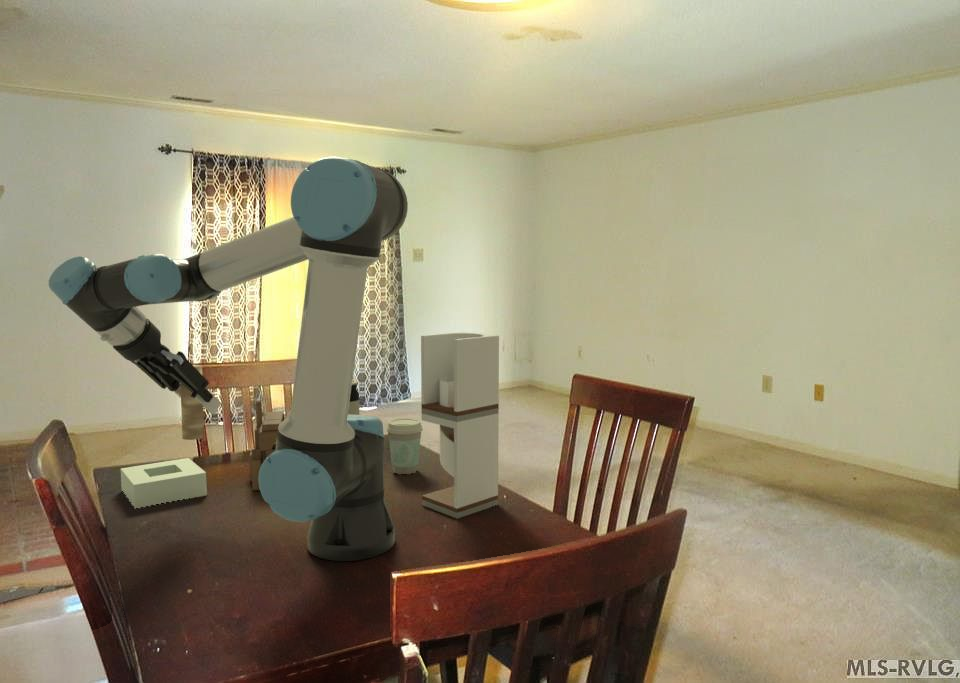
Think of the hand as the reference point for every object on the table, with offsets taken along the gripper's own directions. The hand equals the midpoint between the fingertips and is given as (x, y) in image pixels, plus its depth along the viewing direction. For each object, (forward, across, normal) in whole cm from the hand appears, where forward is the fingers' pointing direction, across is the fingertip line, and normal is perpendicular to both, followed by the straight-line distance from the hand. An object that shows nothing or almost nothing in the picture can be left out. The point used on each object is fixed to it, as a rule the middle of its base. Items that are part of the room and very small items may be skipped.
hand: (208, 407), depth 139 cm
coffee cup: (+43, +20, +13) cm, 49 cm away
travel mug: (+50, -6, +20) cm, 54 cm away
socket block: (+16, -16, -14) cm, 26 cm away
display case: (+32, +44, +3) cm, 54 cm away
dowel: (+1, 0, -6) cm, 6 cm away
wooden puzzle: (+31, -2, +1) cm, 31 cm away
